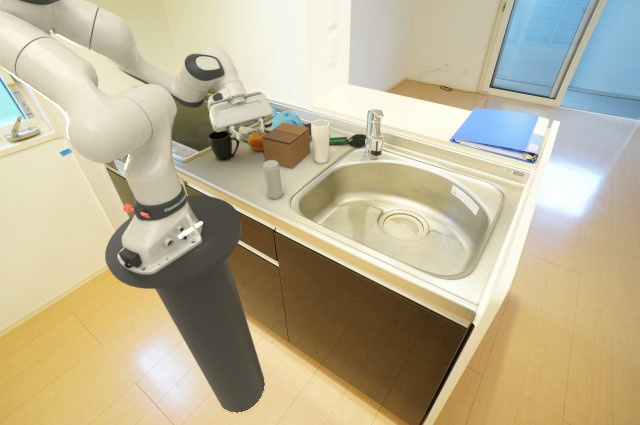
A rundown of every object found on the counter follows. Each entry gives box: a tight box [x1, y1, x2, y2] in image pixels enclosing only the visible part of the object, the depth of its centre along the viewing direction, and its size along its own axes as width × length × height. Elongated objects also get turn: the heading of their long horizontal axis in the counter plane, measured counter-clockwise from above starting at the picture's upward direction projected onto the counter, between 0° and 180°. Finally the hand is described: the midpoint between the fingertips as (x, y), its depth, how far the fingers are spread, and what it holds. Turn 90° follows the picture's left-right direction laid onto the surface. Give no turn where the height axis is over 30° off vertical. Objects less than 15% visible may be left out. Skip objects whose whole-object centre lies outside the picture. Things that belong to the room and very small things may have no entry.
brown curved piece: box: [263, 119, 273, 134], centre depth 144 cm, size 13×5×10 cm
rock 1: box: [241, 133, 252, 142], centre depth 135 cm, size 9×2×5 cm
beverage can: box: [262, 160, 283, 200], centre depth 100 cm, size 5×5×12 cm
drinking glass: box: [310, 119, 331, 164], centre depth 116 cm, size 7×7×15 cm
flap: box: [262, 129, 300, 144], centre depth 115 cm, size 7×12×1 cm, turn 62°
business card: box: [329, 136, 348, 145], centre depth 131 cm, size 9×1×5 cm
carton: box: [262, 123, 311, 169], centre depth 120 cm, size 14×12×10 cm
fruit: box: [247, 130, 267, 152], centre depth 127 cm, size 8×8×8 cm
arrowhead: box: [237, 125, 257, 134], centre depth 141 cm, size 8×2×10 cm
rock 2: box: [346, 133, 367, 148], centre depth 129 cm, size 9×7×5 cm
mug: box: [207, 130, 240, 161], centre depth 121 cm, size 8×12×10 cm
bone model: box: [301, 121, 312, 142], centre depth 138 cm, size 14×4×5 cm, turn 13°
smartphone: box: [305, 122, 312, 137], centre depth 141 cm, size 7×1×15 cm
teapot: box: [271, 106, 303, 131], centre depth 135 cm, size 13×11×18 cm
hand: (251, 136), depth 101 cm, fingers open, 6 cm apart
